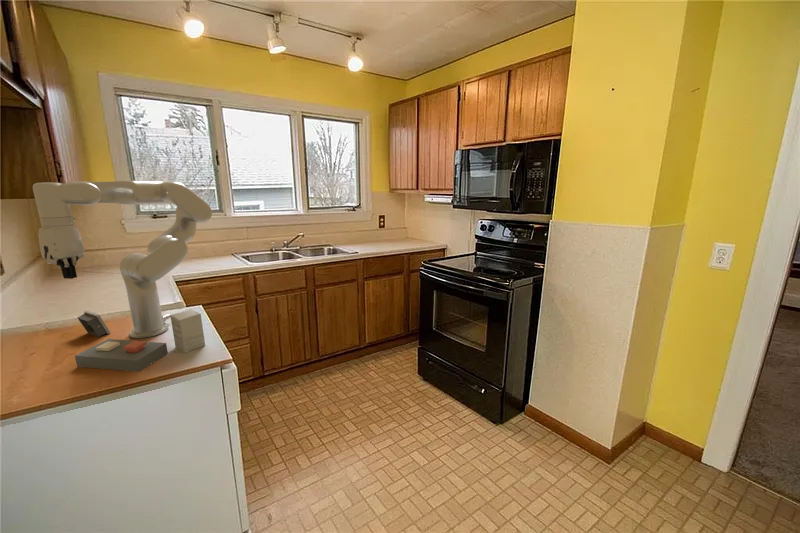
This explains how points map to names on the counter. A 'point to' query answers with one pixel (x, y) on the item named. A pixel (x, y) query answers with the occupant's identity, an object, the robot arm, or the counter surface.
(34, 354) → the counter surface
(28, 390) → the counter surface
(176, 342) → the supplement box
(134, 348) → the red plug
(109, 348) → the ivory plug
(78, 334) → the counter surface
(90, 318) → the electrical switch
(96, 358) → the plug panel
